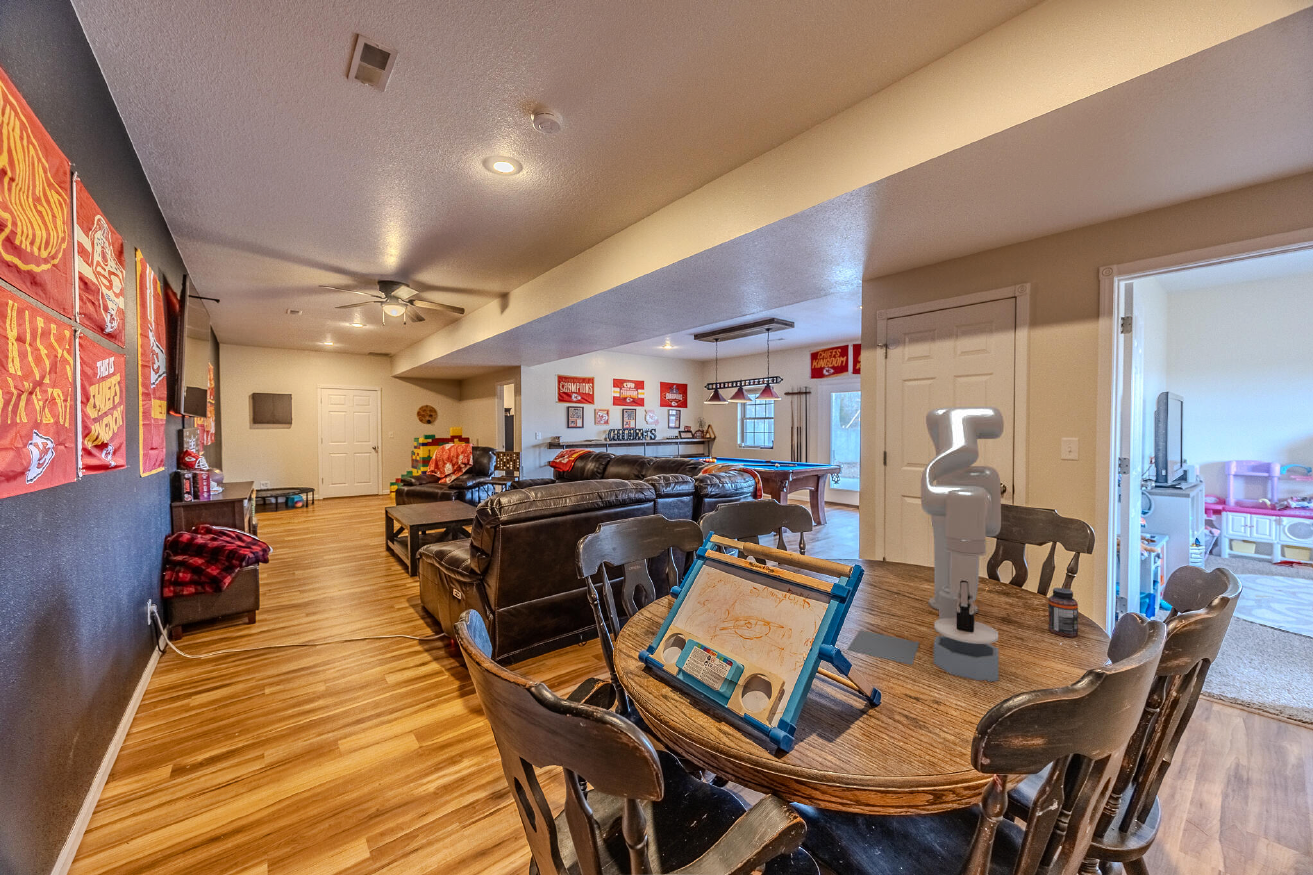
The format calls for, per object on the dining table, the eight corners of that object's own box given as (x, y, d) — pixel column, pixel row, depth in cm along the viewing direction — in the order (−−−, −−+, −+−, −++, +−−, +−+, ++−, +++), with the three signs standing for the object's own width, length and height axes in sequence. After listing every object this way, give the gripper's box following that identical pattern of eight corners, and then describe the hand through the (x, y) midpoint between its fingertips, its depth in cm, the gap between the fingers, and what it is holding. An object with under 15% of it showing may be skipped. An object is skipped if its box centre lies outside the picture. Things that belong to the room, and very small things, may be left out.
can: (978, 641, 124) (978, 594, 124) (945, 639, 125) (945, 592, 125) (965, 629, 131) (965, 584, 131) (934, 627, 133) (934, 583, 132)
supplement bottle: (1048, 626, 133) (1048, 584, 132) (1077, 632, 129) (1077, 589, 129) (1048, 633, 128) (1048, 590, 128) (1078, 640, 124) (1078, 595, 124)
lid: (936, 618, 118) (936, 589, 118) (997, 629, 111) (997, 598, 111) (932, 635, 108) (931, 603, 108) (998, 648, 101) (998, 614, 101)
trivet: (859, 632, 130) (859, 630, 130) (919, 644, 122) (919, 642, 122) (846, 652, 119) (846, 649, 119) (911, 667, 111) (911, 664, 111)
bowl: (937, 651, 118) (937, 631, 118) (998, 664, 112) (998, 642, 112) (932, 672, 108) (932, 649, 108) (998, 687, 102) (998, 663, 102)
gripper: (948, 537, 119) (948, 613, 119) (942, 550, 105) (942, 636, 105) (986, 540, 114) (986, 619, 114) (985, 555, 101) (985, 645, 101)
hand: (965, 627), depth 110 cm, fingers closed on lid, 3 cm apart
